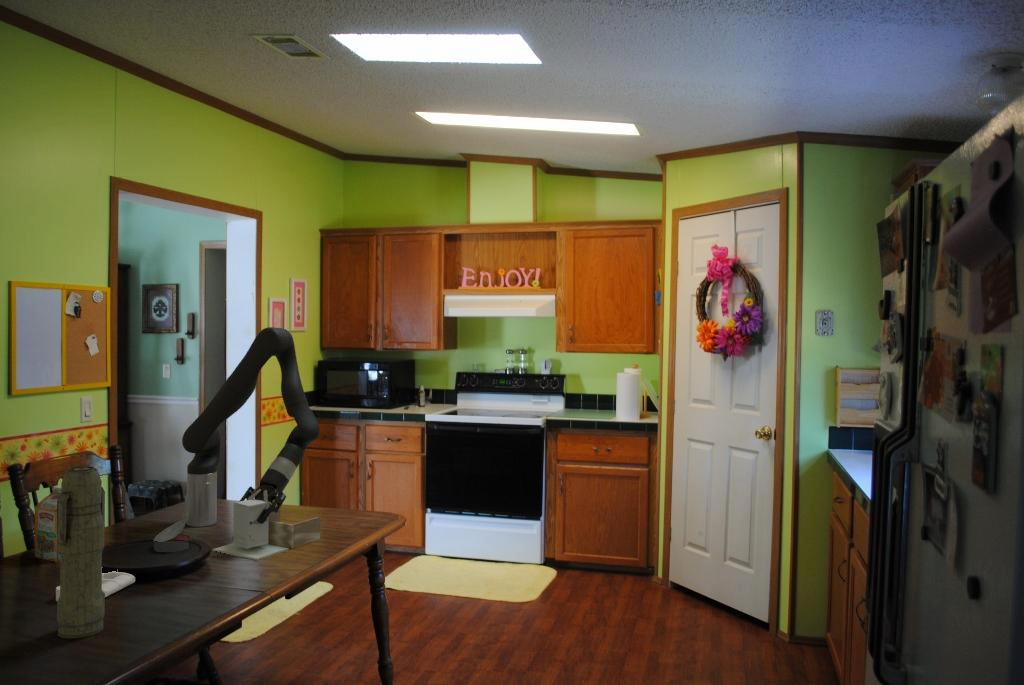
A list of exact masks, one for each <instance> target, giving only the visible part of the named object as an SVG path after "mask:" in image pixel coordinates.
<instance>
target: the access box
mask: <svg viewBox="0 0 1024 685" xmlns="http://www.w3.org/2000/svg"><path fill="white" fill-rule="evenodd" d="M320 540H321V516H315V517H312V518H309V519H305V520H302V521H298V522H295V523H288V522H281V510H280V509H279V510H278V512H277V513H275V512H272V513H271V514H269V519H268V544H270V545H275V546H281V547H286V548H288V549H290V550H291V549H292V550H293V549H296V548H299V547H302V546H305V545H308V544H311V543H314V542H317V541H320Z"/></svg>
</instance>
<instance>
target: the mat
mask: <svg viewBox="0 0 1024 685" xmlns="http://www.w3.org/2000/svg"><path fill="white" fill-rule="evenodd" d="M212 551H213V552H215V551H217V552H216V553H220V552H221V554H224V553H226V554H225V555H229V554H230V556H234V555H235V557H238V558H239V557H240V558H244V559H247V560H248V559H249V560H252V561H253V560H254V561H261V560H263V559H265V558H270V557H271V556H276V555H279V554H281V553H284V552H287V551H289V548H286V547H281V546H275V545H270V544H264V545H259V546H255V547H251V548H248V549H246V548H242V547H239V546H236V545H233V543H229V544H225V545H222V546H219V547H216V548H213V549H212Z"/></svg>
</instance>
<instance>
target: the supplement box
mask: <svg viewBox="0 0 1024 685" xmlns="http://www.w3.org/2000/svg"><path fill="white" fill-rule="evenodd" d="M239 501H240V500H239ZM239 501H236V502H233V519H232V520H233V524H232V525H233V526H232V528H233V532H232V535H233V536H232V538H233V539H232V541H233V545H236V546H239V547H242V548H246V549H248V548H251V547H255V546H259V545H264V544H268V519H269V516H268V518H267V519H266V521H265V522H264V523H263V524H260V523H259V522H258V521H257V519H258V517H259V516H260V514H261V512H262V511H263V509H264V510H265V506H266V504H267V502H264V501H262V500H255V498H254V499H252V500H246V499H245V500H244V501H240V502H239Z"/></svg>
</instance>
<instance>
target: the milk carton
mask: <svg viewBox="0 0 1024 685" xmlns="http://www.w3.org/2000/svg"><path fill="white" fill-rule="evenodd" d="M60 495H61V487H59V486H57V487H56V486H54V487H52V492H51V493H49V494H48V495H46V496H45V497H44V498H42V500H40V501H39V502H38V503H37V505H36V506H35V507H34V558H37V559H41V558H42V560H45V559H46V560H45V561H49V560H50V561H49V562H53V561H54V562H53V563H57V562H58V563H60V555H59V553H58V543H57V501H58V499H59V496H60Z"/></svg>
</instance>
